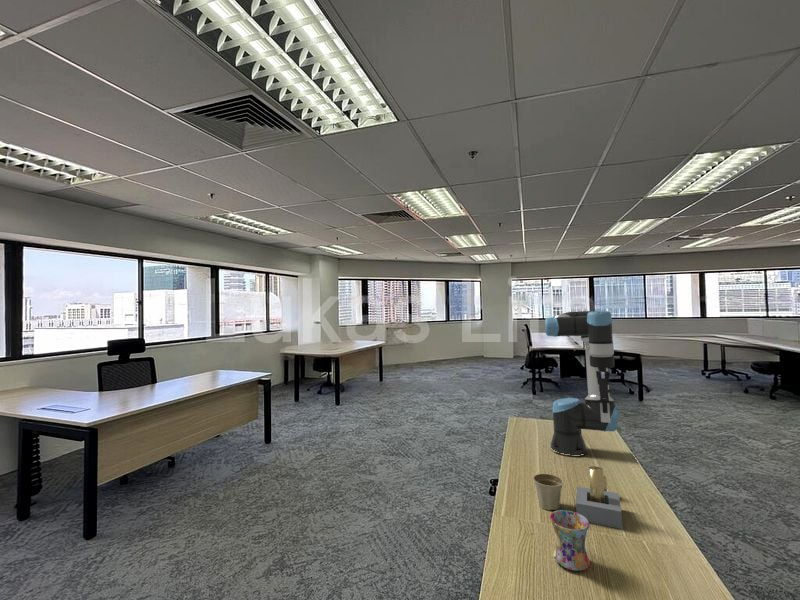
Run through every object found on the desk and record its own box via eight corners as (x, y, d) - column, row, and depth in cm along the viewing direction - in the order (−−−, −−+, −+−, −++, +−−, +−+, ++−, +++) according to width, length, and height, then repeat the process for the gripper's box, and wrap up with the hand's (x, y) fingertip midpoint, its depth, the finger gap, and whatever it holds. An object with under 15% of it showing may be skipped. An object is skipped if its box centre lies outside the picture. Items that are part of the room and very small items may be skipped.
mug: (596, 577, 87) (593, 532, 88) (555, 572, 89) (552, 527, 90) (584, 546, 99) (581, 506, 99) (547, 542, 101) (545, 503, 101)
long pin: (591, 509, 117) (588, 465, 117) (605, 512, 115) (602, 467, 115) (591, 516, 113) (588, 470, 114) (606, 519, 111) (603, 472, 112)
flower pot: (563, 500, 123) (562, 474, 123) (566, 515, 114) (564, 487, 114) (533, 497, 126) (532, 472, 126) (534, 511, 117) (533, 484, 117)
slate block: (577, 501, 122) (577, 486, 122) (619, 509, 116) (618, 493, 117) (576, 519, 111) (575, 503, 112) (622, 529, 106) (621, 511, 106)
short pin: (594, 491, 128) (593, 474, 129) (607, 493, 127) (606, 476, 127) (594, 496, 125) (593, 478, 125) (607, 498, 123) (606, 480, 123)
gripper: (589, 350, 139) (593, 406, 139) (588, 360, 117) (592, 426, 117) (612, 350, 136) (615, 407, 135) (615, 360, 114) (620, 428, 113)
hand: (605, 416), depth 126 cm, fingers open, 13 cm apart
